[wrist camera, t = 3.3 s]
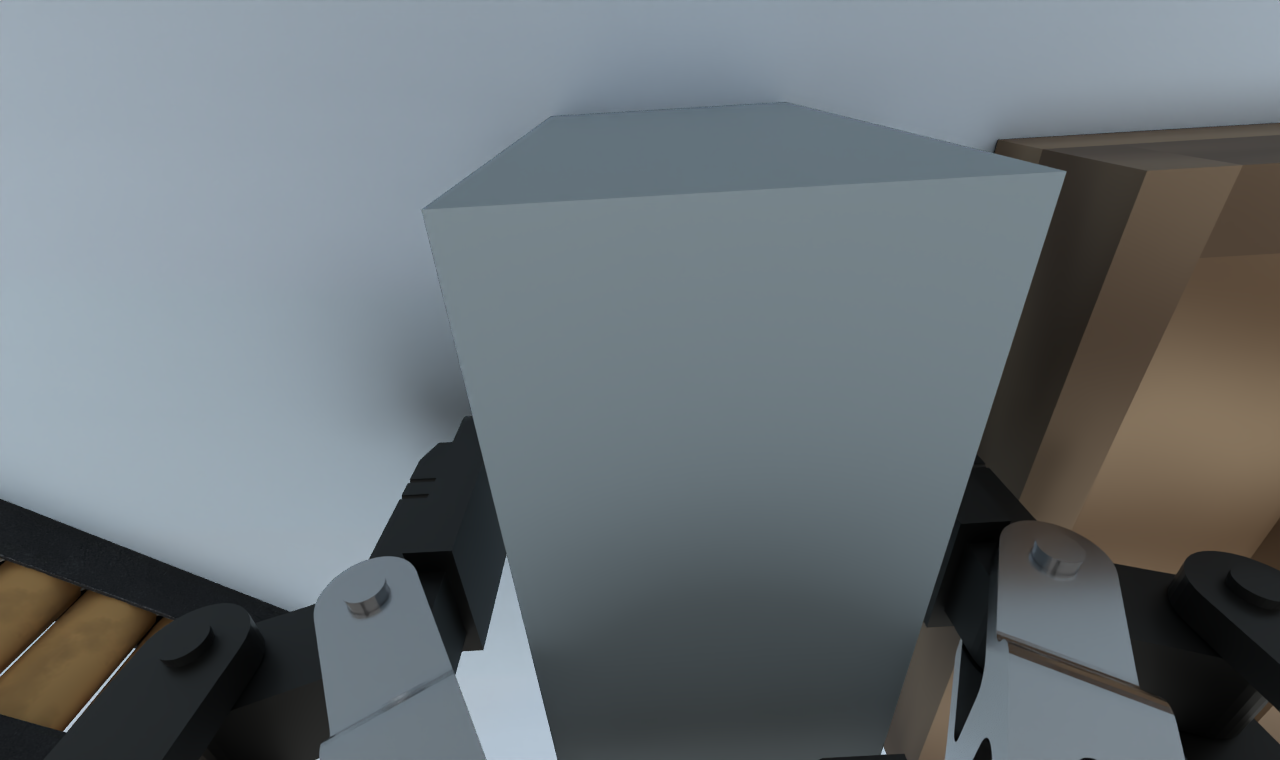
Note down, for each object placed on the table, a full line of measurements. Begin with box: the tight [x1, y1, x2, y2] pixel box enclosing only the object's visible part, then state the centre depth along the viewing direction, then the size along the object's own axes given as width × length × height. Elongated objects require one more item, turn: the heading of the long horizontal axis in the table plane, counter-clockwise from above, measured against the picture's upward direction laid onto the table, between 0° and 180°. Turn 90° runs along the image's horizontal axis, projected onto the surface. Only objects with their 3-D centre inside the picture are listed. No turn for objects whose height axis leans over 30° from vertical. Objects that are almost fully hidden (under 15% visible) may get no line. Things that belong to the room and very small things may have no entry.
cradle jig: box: [884, 123, 1280, 760], centre depth 12 cm, size 16×9×3 cm, turn 3°
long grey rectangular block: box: [422, 102, 1067, 760], centre depth 9 cm, size 12×4×7 cm, turn 3°
